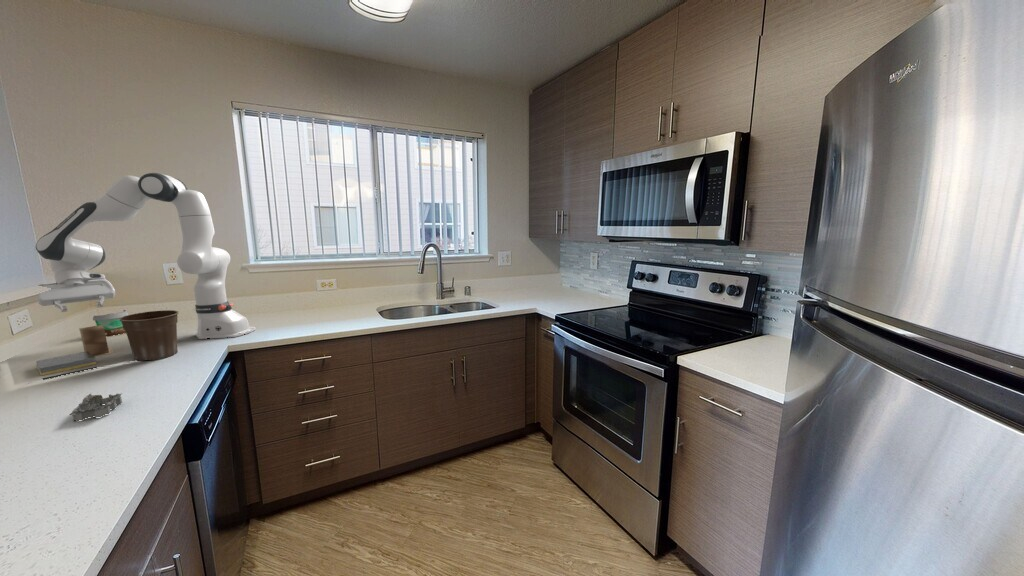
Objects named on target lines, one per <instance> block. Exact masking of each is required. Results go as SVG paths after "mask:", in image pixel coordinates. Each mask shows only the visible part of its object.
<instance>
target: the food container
mask: <svg viewBox="0 0 1024 576" xmlns="http://www.w3.org/2000/svg"><path fill="white" fill-rule="evenodd" d="M127 315H130V314H129V313H128V311H127V310H126V309H123V311H121V312H114V313H112V312H111V313H108V314H102V315H101V314H100V315H93V317H92V321H95V326H98V325H102V326H103V327H104V328H105V329H104V330H105V335H106V336H107V337H113V335H115V336H119V335H118V334H120V335H124V334H126V330H124V328H123V325H122V322H121V321H120V320H119V318H121V317H123V316H127ZM123 333H124V334H123Z"/></svg>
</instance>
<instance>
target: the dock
mask: <svg viewBox="0 0 1024 576" xmlns="http://www.w3.org/2000/svg"><path fill="white" fill-rule="evenodd" d="M95 357H96V356H93V355H92V354H91V353H89V352H88V351H86V352H84V351H82V352H77V353H71V354H66V355H61V356H56V357H50V358H45V359H41V360H40V359H39V360H36V361H35V362H36V368H37V370H38V372H39V375H40V376H42V377H43V376H47V375H51V376H48V377H43V378H41V379H43V381H45V380H49V378H50V379H53V378H54V377H55V378H58V376H59V377H62V376H61V375H64V376H67V375H66V374H68V375H71V374H70V373H73V374H76V373H75V372H78V373H81V372H80V371H82V372H85V371H84V370H87V371H89V370H88V369H91V370H94V369H93V368H96V369H97V366H95V365H97V361H96V358H95ZM89 366H92V367H89ZM93 366H94V367H93ZM84 367H88V368H85V369H81V368H84ZM75 369H80V370H75ZM71 370H75V371H71ZM66 371H70V372H66ZM62 372H65V373H62ZM56 373H61V374H56ZM52 374H56V375H52ZM55 378H54V379H55Z"/></svg>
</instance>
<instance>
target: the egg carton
mask: <svg viewBox="0 0 1024 576" xmlns="http://www.w3.org/2000/svg"><path fill="white" fill-rule="evenodd" d="M122 395H123V393H121V392H120V393H116V394H108V396H107V397H103V396H102V395H101V394H96V395H94V394H93V395H92V393H89V394H88V395H86V396H85V397H83V399H82V402H80V403H79V404H78V406H76V408H73V410H72V412H70V413H69V416H72V417H73V421H74V420H77V421H79V420H83V419H85V418H88V417H93V416H95V418H96V417H101V416H103V415H105V414H109V413H110V412H111V411H112V410H111V411H110V409H115V408H116V407H117V408H118V405H116V404H120V405H122V404H123V400H122ZM121 403H122V404H121ZM100 404H105V405H103V406H102V405H100ZM117 408H116V409H117ZM116 409H115V410H116ZM95 418H94V419H95ZM77 421H76V422H77Z"/></svg>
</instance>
